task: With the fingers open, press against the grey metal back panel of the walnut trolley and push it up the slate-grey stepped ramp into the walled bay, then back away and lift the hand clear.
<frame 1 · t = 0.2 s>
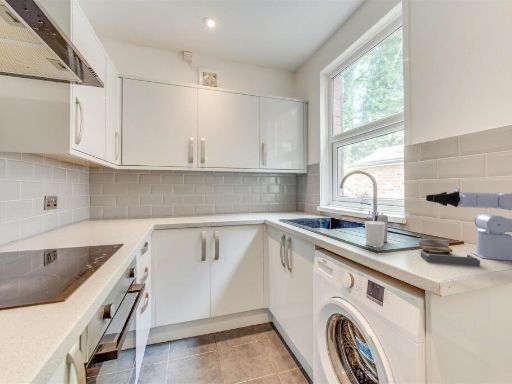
hand: (429, 198, 95), 21 cm above the table, tool horizontal, fingers open, 7 cm apart
energy drink: (380, 241, 114), on the table
white cup: (374, 246, 105), on the table
dock: (444, 258, 88), on the table
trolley: (435, 246, 95), point 2 cm above the table, slide at -11.0 cm
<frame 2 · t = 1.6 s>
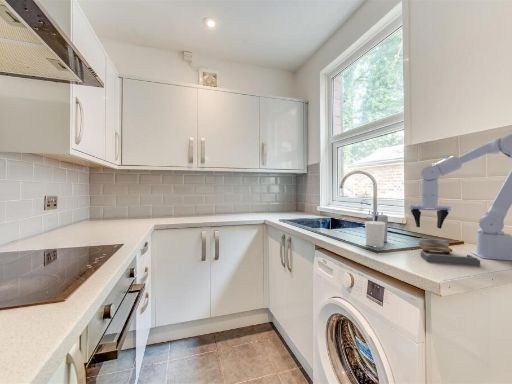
hand: (428, 227, 103), 8 cm above the table, tool pointing down, fingers open, 7 cm apart
nothing on the table moved.
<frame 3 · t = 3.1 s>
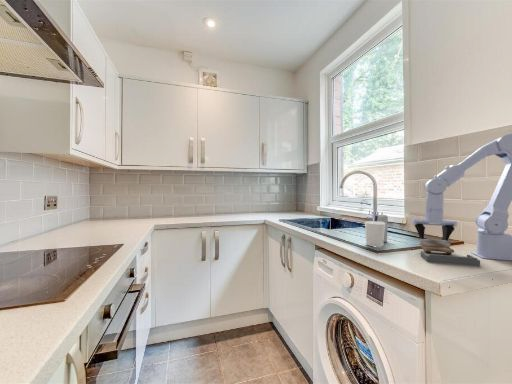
hand: (433, 243, 98), 3 cm above the table, tool pointing down, fingers open, 7 cm apart
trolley: (437, 247, 94), point 2 cm above the table, slide at -9.7 cm, touching gripper
everything else where it was.
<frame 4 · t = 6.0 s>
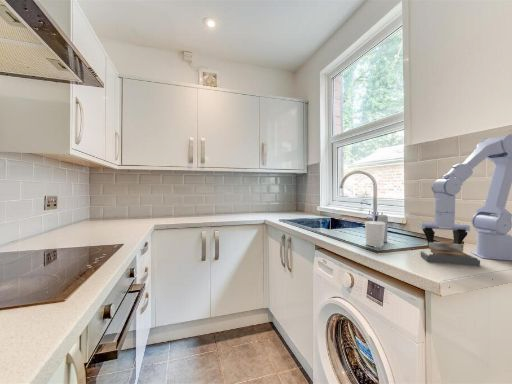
hand: (443, 249, 89), 3 cm above the table, tool pointing down
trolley: (448, 251, 85), point 3 cm above the table, slide at 0.1 cm, touching gripper
everything else where it was.
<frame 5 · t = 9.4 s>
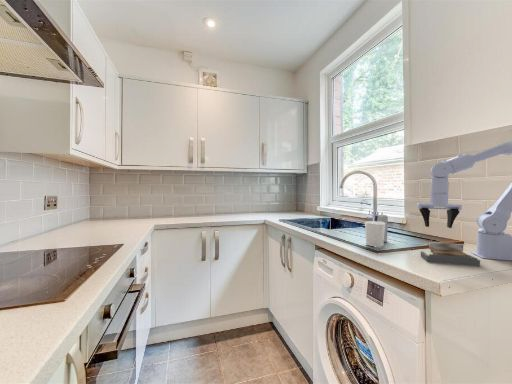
hand: (438, 227, 98), 9 cm above the table, tool pointing down, fingers open, 7 cm apart
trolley: (448, 251, 85), point 3 cm above the table, slide at 0.0 cm
everything else where it was.
at the end: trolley slide at 0.0 cm; the gripper is holding nothing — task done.
